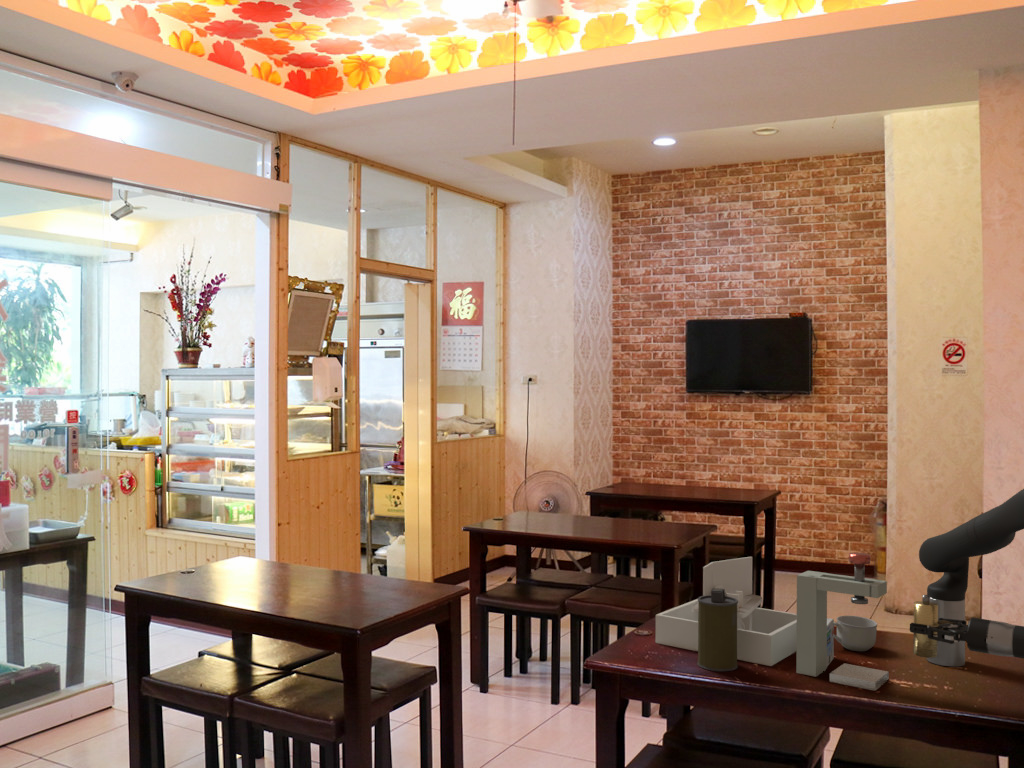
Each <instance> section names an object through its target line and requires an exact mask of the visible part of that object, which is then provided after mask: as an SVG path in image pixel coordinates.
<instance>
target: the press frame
mask: <svg viewBox="0 0 1024 768" xmlns="http://www.w3.org/2000/svg"><path fill="white" fill-rule="evenodd" d="M887 585H888V581H887V580H882V579H874V578H867V577H865V582H859V581H854V576H852V575H851V576H849V575H844V574H836V573H835V574H834V573H828V572H821V571H813V570H806V571H804V572H801V573H798V574H797V575H796V614H797V651H796V652H795V653H796V669H795V670H796V672H795V673H796V674H800V675H806V676H811V677H815V678H816V677H818V676H819V675H821V674H823V673H824V672H826V669H828V666H827V618H828V592H832V593H839V594H846V595H853V596H854V595H858V596H865V598H873V599H874V598H875V599H879V598H880V597H882V596H884V595H887V593H888V592H887V591H888V589H887V588H888V586H887ZM823 671H824V672H823Z"/></svg>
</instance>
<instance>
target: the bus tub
mask: <svg viewBox="0 0 1024 768" xmlns="http://www.w3.org/2000/svg"><path fill="white" fill-rule="evenodd" d="M697 603H698V598H696V599H693V600H691V601H688V602H685V603H684V604H681V605H678V606H674V607H672V608H670V609H667V610H665V611H662V612H660V613H657V614H655V643H656V644H659V645H663V646H670V647H675V648H679V649H684V650H689V651H693V652H698V613H693V612H692V607H693V606H694V605H696V604H697ZM795 653H797V613H795V612H794V613H793V612H788V611H782V610H774V609H769V608H762V607H757V608H755V609H754V610H753V611H752V631H749V630H744V629H738V628H737V661H738V660H739V661H744V662H749V663H753V664H759V665H764V666H768V667H772V666H774V665H776V664H777V663H779V662H782V660H784V659H785V658H787V657H789V656H791V655H793V654H795Z"/></svg>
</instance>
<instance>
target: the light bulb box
mask: <svg viewBox="0 0 1024 768" xmlns="http://www.w3.org/2000/svg"><path fill="white" fill-rule="evenodd" d="M834 620H835V619H834V618H830V617H829V618H828V617H827V667H828V666H829V665H830V664H831V662H832V661H833V660H834V658H835V657H834V653H835V651H834V649H835V647H834V643H835V641H834V640H835V638H834V633H835V632H834V631H835V629H834V628H835V626H834V622H835V621H834Z"/></svg>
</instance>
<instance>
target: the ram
mask: <svg viewBox="0 0 1024 768" xmlns="http://www.w3.org/2000/svg"><path fill="white" fill-rule="evenodd" d="M848 563H850V564H854V575H853V577H854V581H859V582H865V578H866V575H865V572H866V571H865V569H866V567H865V566H866V565H870V564H871V554H870V553H864V552H849V553H848ZM850 603H852V604H855V605H868V604H869V599H868V597H865V596H858V595H853V596H851V597H850Z"/></svg>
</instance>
